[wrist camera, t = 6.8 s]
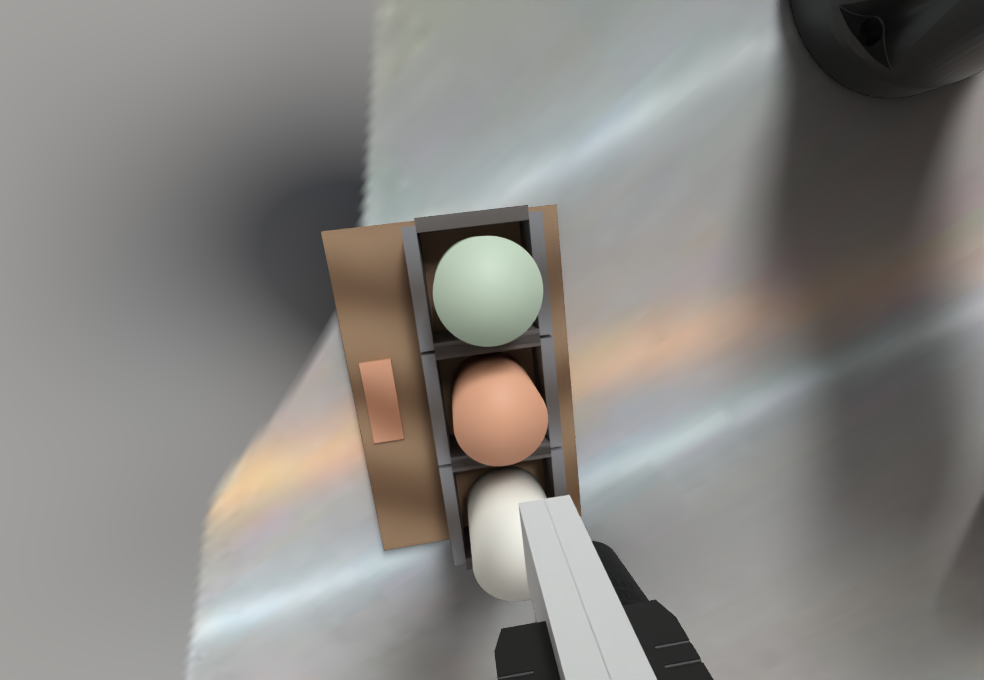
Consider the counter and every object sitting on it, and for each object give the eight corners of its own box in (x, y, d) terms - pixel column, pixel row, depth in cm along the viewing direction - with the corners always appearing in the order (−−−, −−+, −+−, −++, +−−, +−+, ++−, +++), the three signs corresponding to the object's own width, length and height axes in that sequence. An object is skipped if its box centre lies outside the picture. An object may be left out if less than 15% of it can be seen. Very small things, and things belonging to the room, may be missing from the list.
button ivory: (462, 472, 26) (466, 527, 21) (540, 460, 26) (563, 510, 21) (472, 542, 27) (478, 609, 22) (547, 529, 27) (570, 592, 22)
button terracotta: (446, 357, 26) (447, 384, 21) (524, 346, 26) (543, 370, 21) (456, 430, 27) (460, 473, 22) (532, 419, 27) (551, 458, 22)
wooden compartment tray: (328, 232, 26) (304, 230, 22) (550, 206, 27) (571, 200, 22) (386, 535, 30) (377, 585, 26) (574, 503, 31) (596, 546, 27)
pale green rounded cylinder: (428, 241, 23) (425, 243, 18) (518, 231, 23) (538, 229, 18) (441, 330, 24) (441, 353, 19) (526, 318, 24) (547, 338, 19)
